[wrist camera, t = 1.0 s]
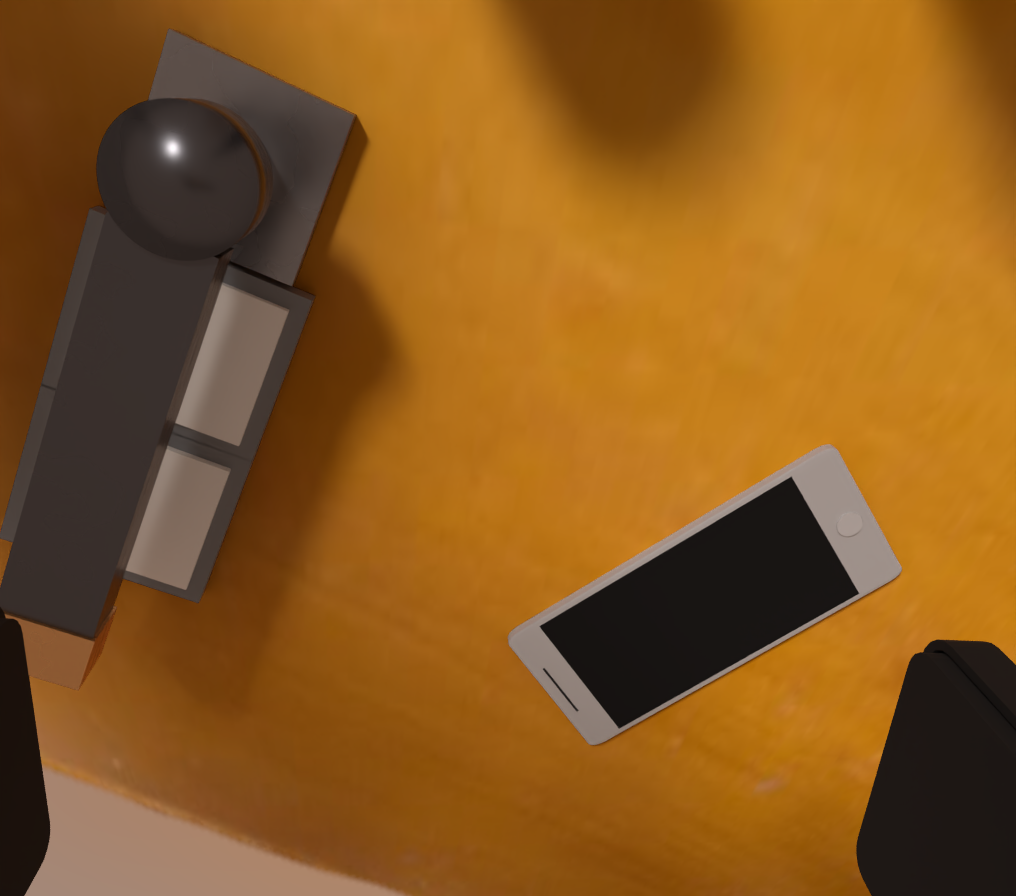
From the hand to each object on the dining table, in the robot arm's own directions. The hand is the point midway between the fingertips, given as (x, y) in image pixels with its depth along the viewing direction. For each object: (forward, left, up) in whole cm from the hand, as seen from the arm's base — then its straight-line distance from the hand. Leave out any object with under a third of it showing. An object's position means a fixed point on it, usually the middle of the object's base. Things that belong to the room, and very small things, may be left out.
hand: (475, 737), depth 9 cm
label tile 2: (-8, -5, -23) cm, 25 cm away
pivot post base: (-8, +1, -23) cm, 25 cm away
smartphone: (+15, -8, -24) cm, 29 cm away
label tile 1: (-8, -12, -23) cm, 27 cm away
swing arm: (-8, -6, -18) cm, 21 cm away
